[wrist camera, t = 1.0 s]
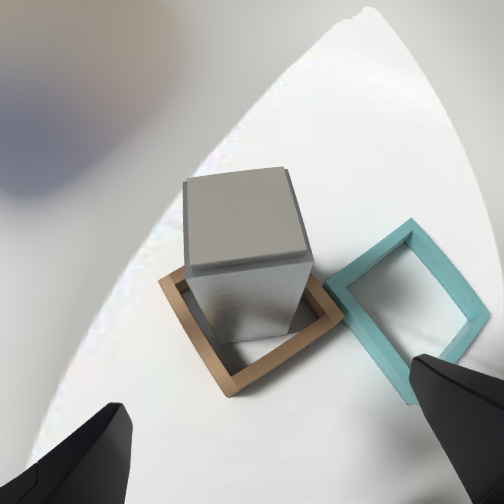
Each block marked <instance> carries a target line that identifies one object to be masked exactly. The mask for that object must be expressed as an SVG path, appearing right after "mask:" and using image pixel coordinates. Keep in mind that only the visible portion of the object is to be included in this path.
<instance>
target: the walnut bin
mask: <svg viewBox="0 0 504 504" xmlns="http://www.w3.org/2000/svg"><path fill="white" fill-rule="evenodd" d="M158 283H159V284H160V286H161V288H162V290H163V292H164V294H165V296H166V298H167V299H168V301H169V303H170V305H171V307H172V309H173V310H174V312H175V314H176V316H177V318H178V319H179V321H180V323H181V325H182V326H183V328H184V330H185V332H186V333H187V335H188V337H189V339H190V340H191V342H192V344H193V345H194V347H195V349H196V350H197V352H198V354H199V355H200V357H201V359H202V360H203V362H204V363H205V365H206V367H207V368H208V370H209V371H210V373H211V375H212V376H213V378H214V379H215V381H216V382H217V384H218V386H219V387H220V389H221V390H222V392H223V393H224V395H225V396H226V397H228V398H229V397H231V396H232V395H234V394H236V393H237V392H239V391H241V390H242V389H244V388H246V387H247V386H249V385H250V384H252V383H254V382H255V381H257V380H258V379H260V378H262V377H263V376H265V375H266V374H268V373H269V372H271V371H272V370H274V369H275V368H277V367H278V366H280V365H281V364H283V363H284V362H286V361H287V360H289V359H290V358H292V357H293V356H295V355H296V354H298V353H299V352H300V351H302V350H303V349H305V348H306V347H308V346H309V345H310V344H312V343H313V342H315V341H316V340H317V339H319V338H320V337H321V336H323V335H324V334H325V333H327V332H328V331H330V330H331V329H332V328H334V327H335V326H336V325H338V324H339V323H340V321H341V320H342V319H343V318H344V317H345V315H344V314H343V313H342V312H341V310H340V309H339V308H338V306H337V305H336V304H335V303H334V301H333V300H332V299H331V298H330V296H329V295H328V294H327V293H326V291H325V290H324V289H323V288H322V286H321V285H320V284H319V283H318V281H317V280H316V279H315V278H314V276H313V275H312V274H311V273H310V274H309V277H308V280H307V283H306V285H305V288H304V291H303V293H302V297H303V299H304V300H305V301H306V302H307V304H308V305H309V306H310V308H311V309H312V310H313V311H314V313H315V314H316V315H317V317H318V318H319V319H318V320H316V321H315V322H314V323H312V324H311V325H309V326H308V327H307V328H305V329H304V330H302V331H301V332H299V333H298V334H297V335H295V336H294V337H292V338H291V339H289V340H288V341H286V342H285V343H283V344H282V345H280V346H279V347H277V348H276V349H274V350H273V351H271V352H270V353H268V354H267V355H265V356H263V357H262V358H260V359H259V360H257V361H256V362H254V363H252V364H251V365H249V366H248V367H246V368H244V369H243V370H241V371H240V372H238V373H236V374H235V375H233V376H230V374H229V373H228V371H227V370H226V368H225V367H224V365H223V364H222V362H221V360H220V359H219V357H218V356H217V354H216V353H215V351H214V349H213V348H212V346H211V345H210V343H209V341H208V340H207V338H206V337H205V335H204V333H203V332H202V330H201V328H200V327H199V325H198V323H197V322H196V320H195V318H194V317H193V315H192V313H191V312H190V310H189V308H188V307H187V305H186V303H185V301H184V300H183V298H182V296H181V294H182V293H184V292H185V291H187V290H189V289H190V287H189V285H188V283H187V281H186V279H185V265H184V266H183V267H181V268H179V269H177V270H176V271H174V272H172V273H170V274H169V275H167V276H165V277H163V278H162V279H160V280H158Z"/></svg>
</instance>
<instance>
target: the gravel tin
mask: <svg viewBox="0 0 504 504" xmlns="http://www.w3.org/2000/svg"><path fill="white" fill-rule="evenodd" d="M183 232H184V262H185V279H186V281H187V283H188V285H189V287H190V289H191V291H192V293H193V295H194V296H195V298H196V300H197V302H198V304H199V306H200V308H201V310H202V311H203V313H204V315H205V317H206V319H207V321H208V322H209V324H210V326H211V328H212V330H213V331H214V333H215V335H216V337H217V338H218V340H219V342H220V344H225V343H233V342H241V341H248V340H255V339H262V338H269V337H275V336H281V335H287V333H288V330H289V328H290V325H291V322H292V320H293V317H294V315H295V312H296V309H297V307H298V304H299V301H300V299H301V296H302V293H303V291H304V288H305V285H306V283H307V280H308V277H309V274H310V272H311V269H312V266H313V263H314V259H313V255H312V251H311V247H310V244H309V240H308V237H307V233H306V229H305V226H304V222H303V219H302V215H301V212H300V209H299V205H298V202H297V198H296V195H295V192H294V188H293V185H292V182H291V179H290V175H289V172H288V169H284V167H274V168H264V169H254V170H246V171H237V172H229V173H222V174H214V175H207V176H200V177H193V178H188V179H187V181H186V182H183Z"/></svg>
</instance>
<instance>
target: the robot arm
mask: <svg viewBox="0 0 504 504" xmlns="http://www.w3.org/2000/svg"><path fill="white" fill-rule="evenodd" d="M409 383H410V385H411V387H412V389H413V392H414V394H415V396H416V398H417V400H418V403H419V405H420V407H421V409H422V411H423V414H424V416H425V418H426V420H427V421H428V423H429V425H430V427H431V428H432V430H433V432H434V433H435V435H436V437H437V439H438V440H439V442H440V444H441V446H442V447H443V449H444V451H445V453H446V454H447V456H448V458H449V460H450V462H451V463H452V465H453V467H454V469H455V471H456V473H457V474H458V476H459V478H460V480H461V482H462V484H463V486H464V488H465V489H466V491H467V493H468V495H469V497H470V499H471V501H472V503H473V504H504V380H501V379H498V378H495V377H492V376H489V375H486V374H483V373H480V372H477V371H474V370H471V369H468V368H465V367H462V366H459V365H456V364H453V363H450V362H447V361H444V360H442V359H439V358H436V357H433V356H430V355H427V354H421V355H418V356H415V357H414V358H413V360H412V364H411V369H410V373H409ZM132 430H133V425H132V421H131V419H130V417H129V415H128V413H127V411H126V409H125V407H124V405H123V404H122V403H115V402H111V403H108V404H107V405H106V406H105V407H103V408H102V409H101V410H100V411H99V412H97V413H96V414H95V415H94V416H93V417H91V418H90V419H89V420H88V421H87V422H85V423H84V424H83V425H82V426H81V427H79V428H78V429H77V430H76V431H74V432H73V433H72V434H71V435H70V436H68V437H67V438H66V439H65V440H63V441H62V442H61V443H60V444H58V445H57V446H56V447H55V448H54V449H52V450H51V451H50V452H49V453H47V454H46V455H45V456H44V457H42V458H41V459H40V460H39V461H37V463H35V464H33V465H32V466H31V467H30V468H28V469H27V470H26V471H24V472H23V473H22V474H20V475H19V476H18V477H16V478H15V479H13V480H11V481H10V482H8V483H7V484H5V485H4V486H2V487H0V504H124V502H125V496H126V489H127V483H128V477H129V471H130V461H131V444H132Z"/></svg>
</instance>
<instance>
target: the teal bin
mask: <svg viewBox="0 0 504 504" xmlns="http://www.w3.org/2000/svg"><path fill="white" fill-rule="evenodd" d="M403 242H405V243H406V244H407V245H408V246H409V247H410V248H411V249H412V251H413V252H414V253H415V254H416V255H417V256H418V257H419V259H420V260H421V261H422V262H423V263H424V264H425V266H426V267H427V268H428V269H429V270H430V272H431V273H432V274H433V275H434V276H435V278H436V279H437V280H438V281H439V283H440V284H441V285H442V286H443V288H444V289H445V290H446V291H447V293H448V294H449V295H450V297H451V298H452V299H453V300H454V302H455V303H456V304H457V306H458V307H459V308H460V310H461V311H462V312H463V314H464V315H465V317H466V318H467V319H468V321H467V323H466V324H465V325H464V327H463V328H462V329H461V330H460V332H459V333H458V334H457V335H456V337H455V338H454V339H453V340H452V342H451V343H450V344H449V345H448V346H447V348H446V349H445V350H444V351H443V352H442V354H441V355H440V356H439V357H438V358H439V359H442V360H444V361H447V362H450V363H453V364H455V363H456V362H457V361H458V359H459V358H460V357H461V356H462V354H463V353H464V352H465V350H466V349H467V348H468V346H469V345H470V344H471V342H472V341H473V340H474V338H475V337H476V335H477V334H478V333H479V331H480V330H481V328H482V327H483V325H484V324H485V322H486V321H487V319H488V318H489V316H490V315H491V314H490V313H489V311H488V310H487V308H486V307H485V305H484V304H483V303H482V301H481V300H480V299H479V297H478V296H477V294H476V293H475V292H474V290H473V289H472V288H471V286H470V285H469V284H468V283H467V281H466V280H465V279H464V277H463V276H462V275H461V274H460V272H459V271H458V270H457V269H456V267H455V266H454V265H453V264H452V263H451V261H450V260H449V259H448V258H447V257H446V255H445V254H444V253H443V252H442V251H441V250H440V248H439V247H438V246H437V245H436V244H435V243H434V242H433V240H432V239H431V238H430V237H429V236H428V235H427V234H426V233H425V231H424V230H423V229H422V228H421V227H420V226H419V225H418V224H417V223H416V222H415V221H414V220H413V219H412V218H410V219H409V220H408V221H406V222H405V223H404V224H403V225H401V226H400V227H399V228H397V229H396V230H395V231H393V232H392V233H391V234H390V235H388V236H387V237H386V238H384V239H383V240H382V241H380V242H379V243H378V244H376V245H375V246H374V247H372V248H371V249H370V250H368V251H367V252H366V253H364V254H363V255H361V256H360V257H359V258H357V259H356V260H355V261H353V262H352V263H350V264H349V265H348V266H346V267H345V268H344V269H342V270H341V271H339V272H338V273H336V274H335V275H334V276H332V277H331V278H329V279H328V280H326V281H325V283H324V285H323V287H322V288H323V289H324V290H325V291H326V293H327V294H328V295H329V296H330V298H331V299H332V300H333V301H334V303H335V304H336V305H337V306H338V308H339V309H340V310H341V312H342V313H343V314H344V315H345V317H344V318H343V321H344V322H345V323H346V325H347V326H348V327H349V328H350V330H351V331H352V332H353V334H354V335H355V336H356V337H357V339H358V340H359V341H360V343H361V344H362V345H363V346H364V348H365V349H366V350H367V352H368V353H369V354H370V356H371V357H372V358H373V360H374V361H375V362H376V364H377V365H378V366H379V367H380V369H381V370H382V371H383V373H384V374H385V375H386V377H387V378H388V379H389V381H390V382H391V383H392V385H393V386H394V387H395V389H396V390H397V391H398V393H399V394H400V396H401V397H402V398H403V400H404V401H405V402H406V404H407V405H413V404H419V403H418V400H417V398H416V396H415V394H414V392H413V389H412V387H411V385H410V383H409V373H410V369H409V367H408V366H407V365H406V363H405V362H404V361H403V359H402V358H401V357H400V355H399V354H398V353H397V352H396V350H395V349H394V348H393V346H392V345H391V344H390V342H389V341H388V340H387V338H386V337H385V336H384V335H383V333H382V332H381V331H380V329H379V328H378V327H377V326H376V324H375V323H374V322H373V320H372V319H371V318H370V317H369V315H368V314H367V313H366V312H365V310H364V309H363V308H362V307H361V305H360V304H359V303H358V302H357V300H356V299H355V298H354V297H353V295H352V294H351V293H350V292H349V291H348V289H347V288H346V287H347V286H349V285H350V284H351V283H353V282H354V281H355V280H357V279H358V278H359V277H361V276H362V275H363V274H365V273H366V272H367V271H368V270H370V269H371V268H372V267H374V266H375V265H376V264H377V263H379V262H380V261H381V260H382V259H384V258H385V257H386V256H387V255H389V254H390V253H391V252H392V251H394V250H395V249H396V248H397V247H399V246H400V245H401V244H402V243H403Z"/></svg>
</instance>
